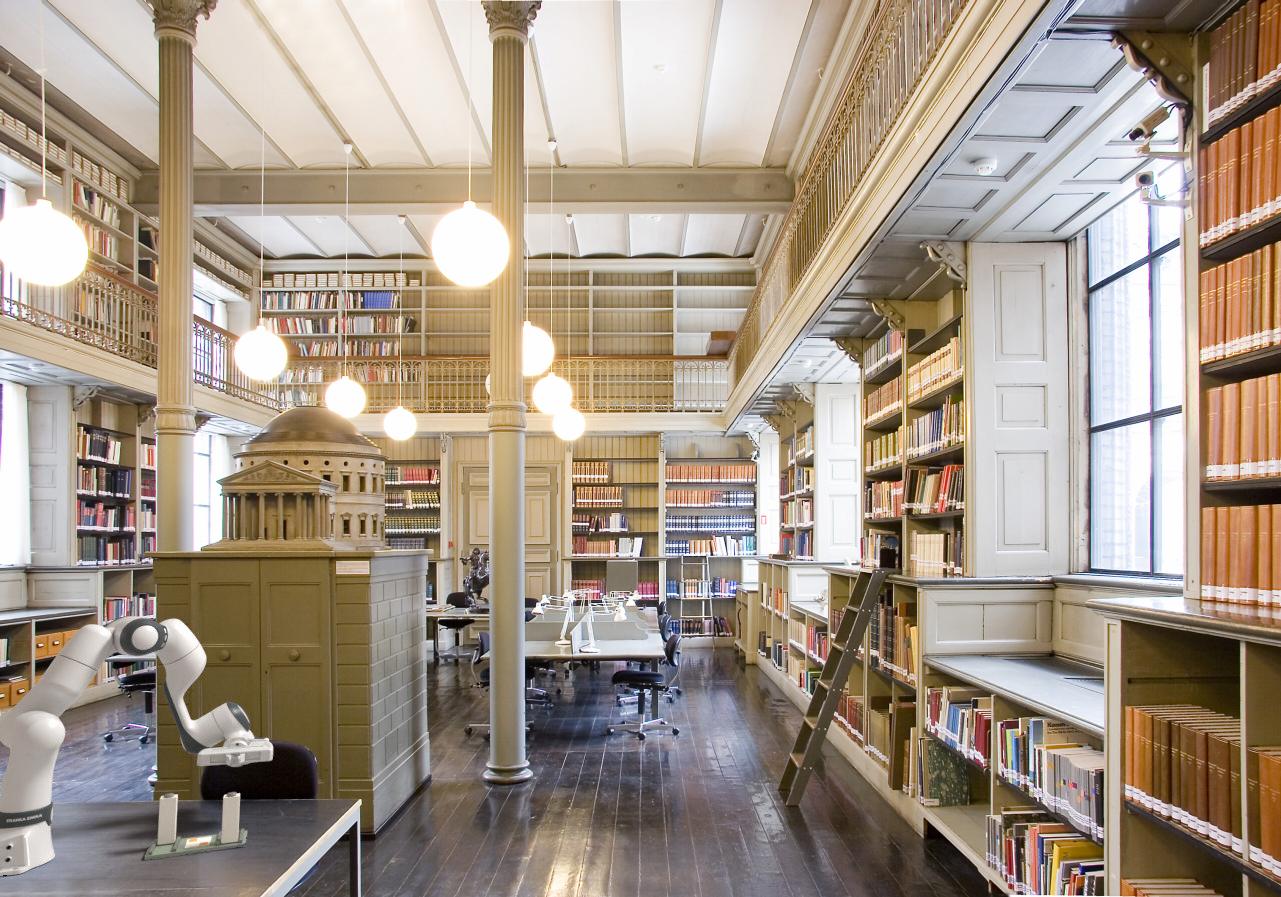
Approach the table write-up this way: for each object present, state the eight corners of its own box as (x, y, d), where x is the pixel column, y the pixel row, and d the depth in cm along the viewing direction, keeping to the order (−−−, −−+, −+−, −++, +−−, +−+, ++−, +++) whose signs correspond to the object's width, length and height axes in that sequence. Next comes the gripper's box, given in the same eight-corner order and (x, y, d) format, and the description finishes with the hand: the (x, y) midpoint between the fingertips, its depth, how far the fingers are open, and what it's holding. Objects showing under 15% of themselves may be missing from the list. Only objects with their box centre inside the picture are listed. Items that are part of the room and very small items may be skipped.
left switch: (159, 841, 230) (161, 793, 231) (175, 839, 231) (178, 792, 232) (157, 845, 227) (160, 796, 228) (174, 842, 228) (176, 795, 230)
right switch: (222, 840, 230) (224, 792, 232) (238, 838, 232) (240, 790, 233) (221, 843, 228) (223, 795, 229) (237, 841, 229) (239, 794, 230)
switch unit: (151, 846, 230) (151, 839, 230) (247, 833, 239) (247, 827, 239) (144, 860, 220) (144, 853, 220) (245, 847, 229) (245, 840, 229)
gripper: (199, 742, 250) (194, 753, 237) (274, 737, 257) (273, 747, 245) (198, 764, 249) (192, 776, 236) (273, 758, 257) (271, 769, 244)
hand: (234, 761), depth 241 cm, fingers closed
